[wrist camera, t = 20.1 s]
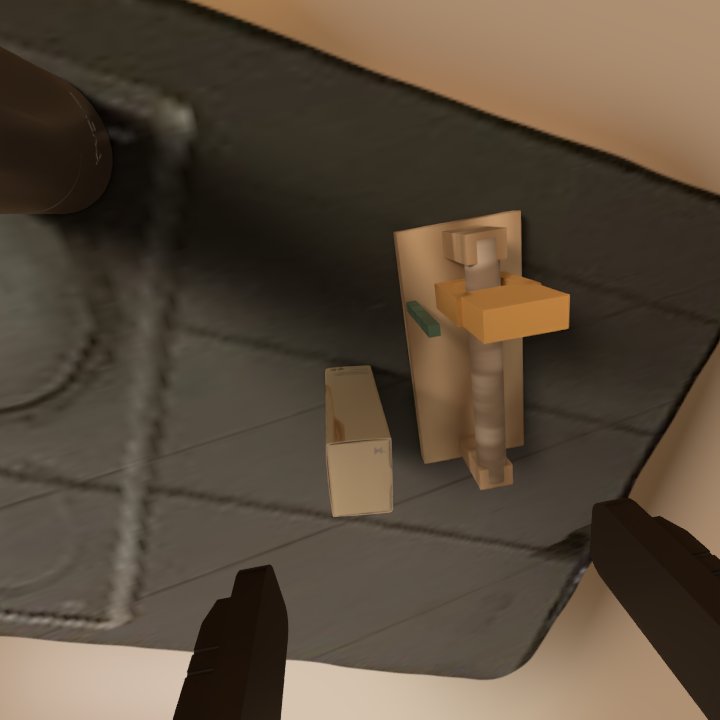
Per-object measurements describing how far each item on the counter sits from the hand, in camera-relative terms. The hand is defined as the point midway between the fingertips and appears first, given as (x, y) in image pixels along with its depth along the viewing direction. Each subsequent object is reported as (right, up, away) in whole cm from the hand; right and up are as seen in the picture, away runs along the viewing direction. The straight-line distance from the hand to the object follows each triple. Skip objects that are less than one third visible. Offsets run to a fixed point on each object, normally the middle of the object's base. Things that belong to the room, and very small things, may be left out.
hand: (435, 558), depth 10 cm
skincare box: (-3, +2, +27) cm, 28 cm away
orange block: (+7, +10, +21) cm, 25 cm away
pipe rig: (+8, +6, +26) cm, 28 cm away
